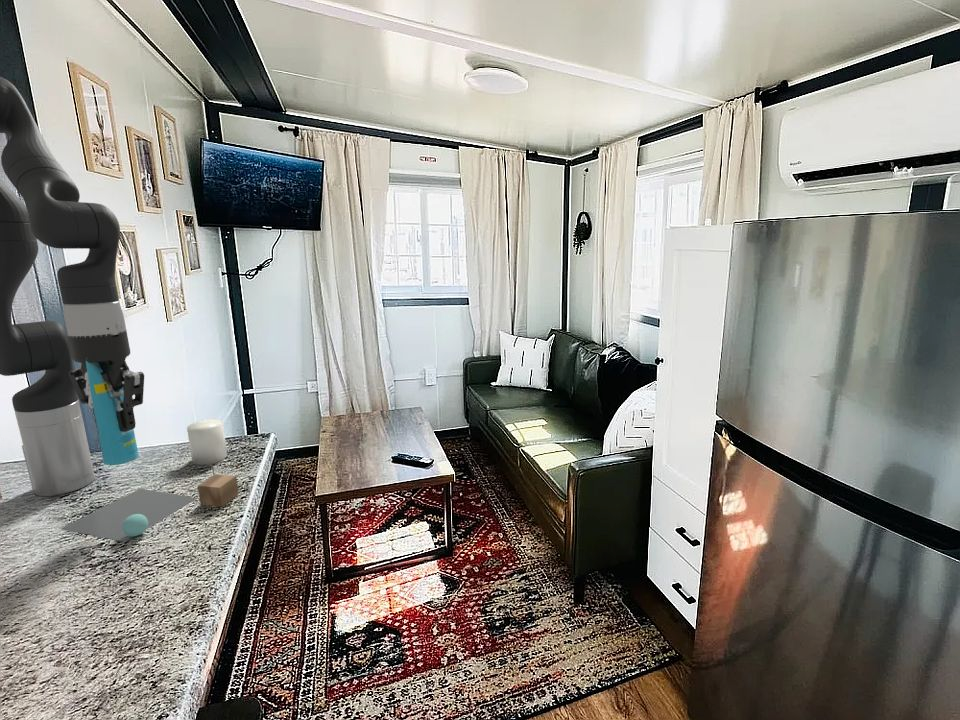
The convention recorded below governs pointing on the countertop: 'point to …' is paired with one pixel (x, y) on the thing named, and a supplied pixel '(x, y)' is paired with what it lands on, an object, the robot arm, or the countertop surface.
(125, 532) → the teal ball
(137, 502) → the plate
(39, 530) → the countertop surface
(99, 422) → the tube
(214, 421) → the white rounded cylinder
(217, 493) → the walnut block
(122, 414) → the robot arm
